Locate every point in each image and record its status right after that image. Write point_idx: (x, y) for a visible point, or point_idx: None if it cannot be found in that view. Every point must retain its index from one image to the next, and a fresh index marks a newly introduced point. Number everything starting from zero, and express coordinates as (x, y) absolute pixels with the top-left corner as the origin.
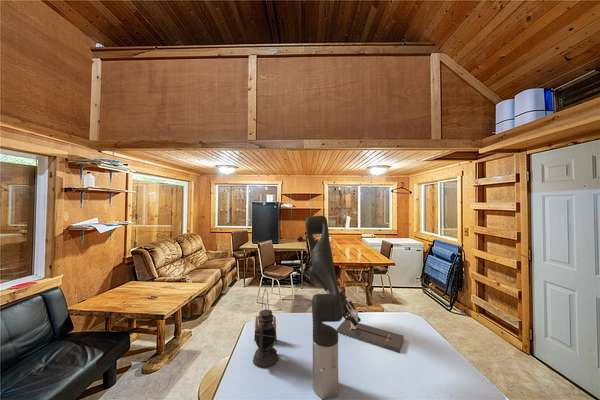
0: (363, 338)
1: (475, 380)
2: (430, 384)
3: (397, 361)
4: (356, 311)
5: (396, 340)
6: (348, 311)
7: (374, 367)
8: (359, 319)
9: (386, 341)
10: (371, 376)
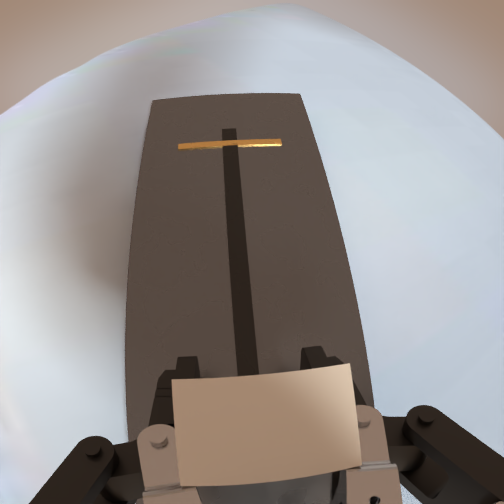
0: (349, 280)
1: (273, 10)
2: (377, 57)
3: (361, 114)
4: (234, 391)
5: (230, 110)
6: (394, 498)
7: (466, 177)
8: (197, 366)
9: (281, 142)
10: (500, 178)
